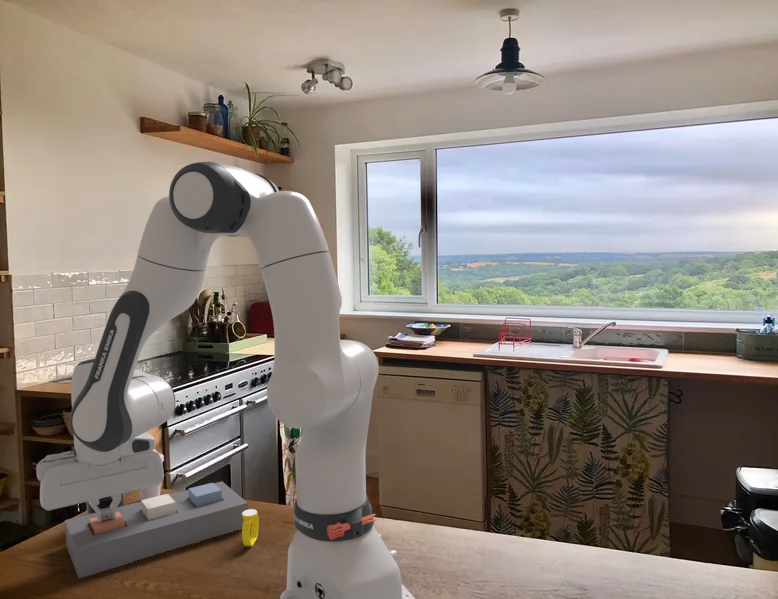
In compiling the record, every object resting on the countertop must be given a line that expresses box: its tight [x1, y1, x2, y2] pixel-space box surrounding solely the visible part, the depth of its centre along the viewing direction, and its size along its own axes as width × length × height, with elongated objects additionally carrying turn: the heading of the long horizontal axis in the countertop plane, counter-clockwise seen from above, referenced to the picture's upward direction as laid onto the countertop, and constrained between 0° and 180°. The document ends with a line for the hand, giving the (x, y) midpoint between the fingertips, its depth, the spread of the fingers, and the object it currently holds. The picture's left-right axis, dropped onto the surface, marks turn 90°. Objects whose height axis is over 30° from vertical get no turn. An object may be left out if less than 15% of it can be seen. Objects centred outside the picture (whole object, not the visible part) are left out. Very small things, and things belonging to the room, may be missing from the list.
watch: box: [241, 508, 260, 547], centre depth 111 cm, size 6×3×6 cm, turn 176°
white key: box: [140, 493, 176, 521], centre depth 114 cm, size 5×5×4 cm
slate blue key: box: [187, 482, 222, 508], centre depth 119 cm, size 5×5×4 cm
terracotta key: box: [90, 512, 125, 535], centre depth 109 cm, size 5×5×4 cm
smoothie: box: [138, 452, 165, 501], centre depth 131 cm, size 6×6×14 cm
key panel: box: [64, 481, 249, 579], centre depth 114 cm, size 30×14×5 cm, turn 126°
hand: (106, 519), depth 109 cm, fingers closed, pressing on terracotta key
